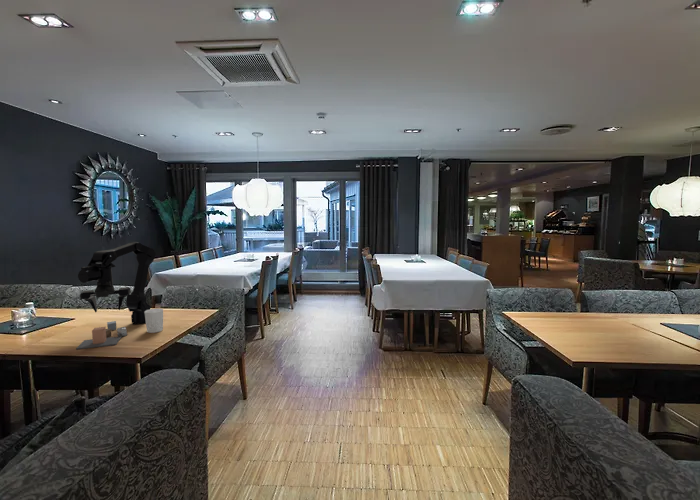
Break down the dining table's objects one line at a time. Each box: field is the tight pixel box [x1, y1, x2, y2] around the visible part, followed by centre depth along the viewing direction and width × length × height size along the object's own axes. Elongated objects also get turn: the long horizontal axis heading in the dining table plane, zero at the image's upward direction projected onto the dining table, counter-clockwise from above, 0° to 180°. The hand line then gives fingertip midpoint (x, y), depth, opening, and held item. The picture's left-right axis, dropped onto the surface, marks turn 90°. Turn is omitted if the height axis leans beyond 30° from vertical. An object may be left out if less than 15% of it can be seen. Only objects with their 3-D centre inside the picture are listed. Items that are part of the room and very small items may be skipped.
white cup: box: [145, 308, 164, 334], centre depth 169 cm, size 8×8×10 cm
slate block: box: [106, 320, 118, 331], centre depth 171 cm, size 4×4×4 cm
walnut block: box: [106, 328, 112, 338], centre depth 160 cm, size 4×4×4 cm
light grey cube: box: [116, 326, 128, 338], centre depth 162 cm, size 4×4×4 cm
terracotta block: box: [91, 326, 107, 344], centre depth 152 cm, size 4×4×6 cm
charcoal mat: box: [76, 335, 122, 351], centre depth 153 cm, size 14×10×1 cm
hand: (107, 310), depth 163 cm, fingers open, 9 cm apart
